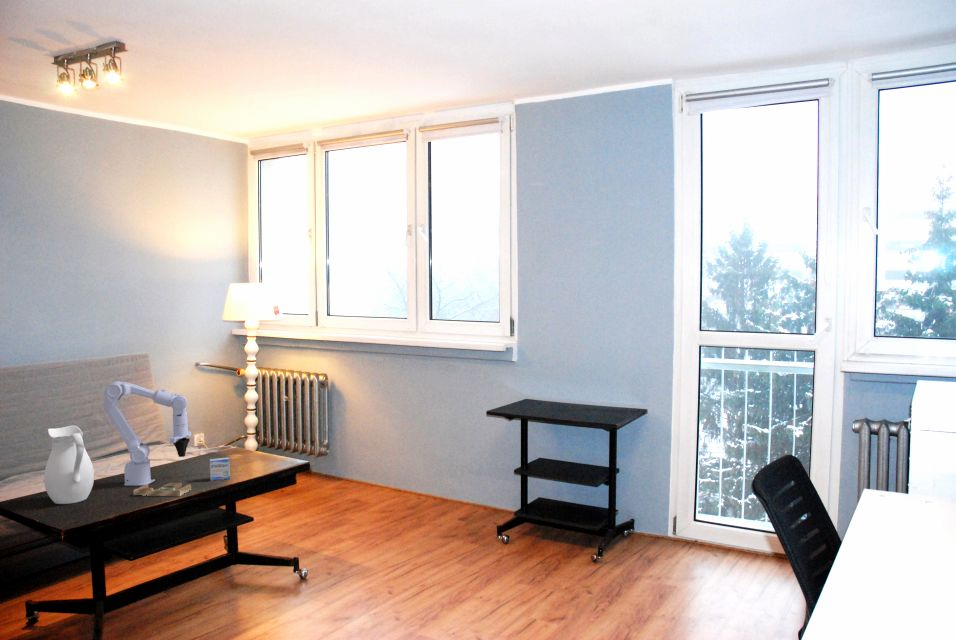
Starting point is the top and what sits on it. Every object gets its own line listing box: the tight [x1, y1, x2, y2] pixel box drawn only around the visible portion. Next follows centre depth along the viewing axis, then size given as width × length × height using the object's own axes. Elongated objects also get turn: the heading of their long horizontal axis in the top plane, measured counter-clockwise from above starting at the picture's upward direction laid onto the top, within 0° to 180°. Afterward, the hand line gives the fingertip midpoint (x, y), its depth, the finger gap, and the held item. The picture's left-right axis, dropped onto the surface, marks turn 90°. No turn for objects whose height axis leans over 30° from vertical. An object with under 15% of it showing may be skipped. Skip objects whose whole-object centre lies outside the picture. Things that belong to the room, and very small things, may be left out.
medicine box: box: [209, 456, 231, 482], centre depth 317 cm, size 8×4×9 cm, turn 112°
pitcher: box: [43, 424, 95, 505], centre depth 287 cm, size 24×17×28 cm
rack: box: [132, 483, 192, 497], centre depth 298 cm, size 19×9×3 cm, turn 84°
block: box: [162, 482, 183, 490], centre depth 297 cm, size 5×5×4 cm
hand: (181, 456), depth 317 cm, fingers closed
